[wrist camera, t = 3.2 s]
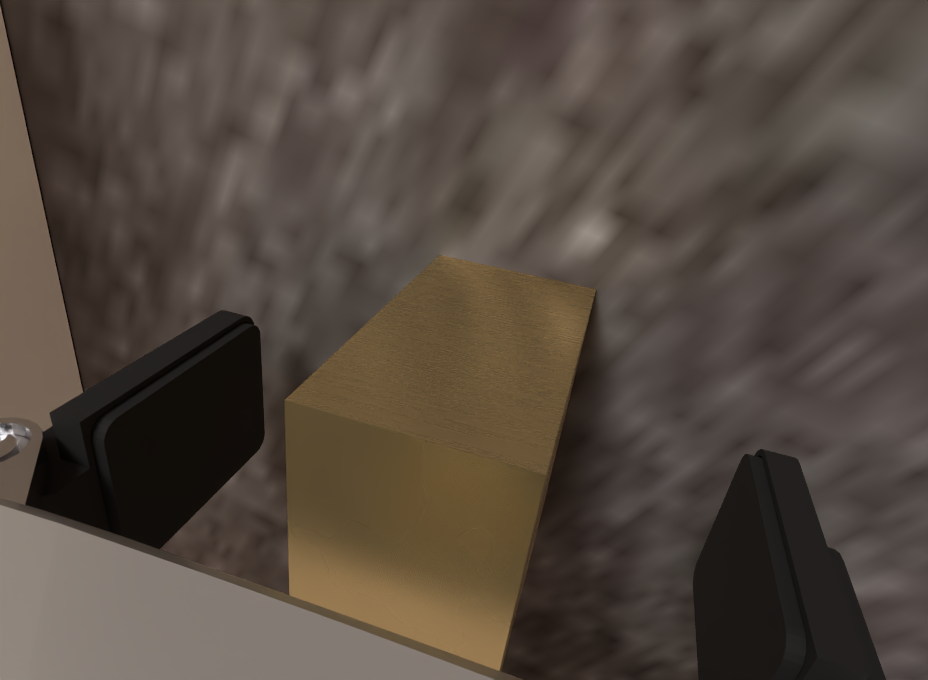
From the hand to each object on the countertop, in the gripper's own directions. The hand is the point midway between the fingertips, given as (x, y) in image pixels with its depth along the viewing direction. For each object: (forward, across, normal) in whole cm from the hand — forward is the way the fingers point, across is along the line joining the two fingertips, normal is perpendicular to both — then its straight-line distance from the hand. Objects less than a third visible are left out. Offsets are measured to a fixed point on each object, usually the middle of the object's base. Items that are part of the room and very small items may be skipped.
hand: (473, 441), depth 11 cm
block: (+1, 0, 0) cm, 1 cm away
